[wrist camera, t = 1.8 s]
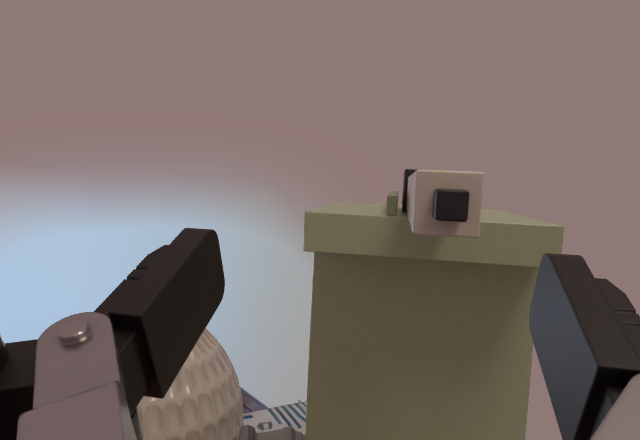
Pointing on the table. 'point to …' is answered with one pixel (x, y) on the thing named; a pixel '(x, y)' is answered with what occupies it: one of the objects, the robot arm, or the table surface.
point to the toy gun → (276, 423)
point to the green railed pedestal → (420, 325)
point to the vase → (197, 399)
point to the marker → (443, 202)
